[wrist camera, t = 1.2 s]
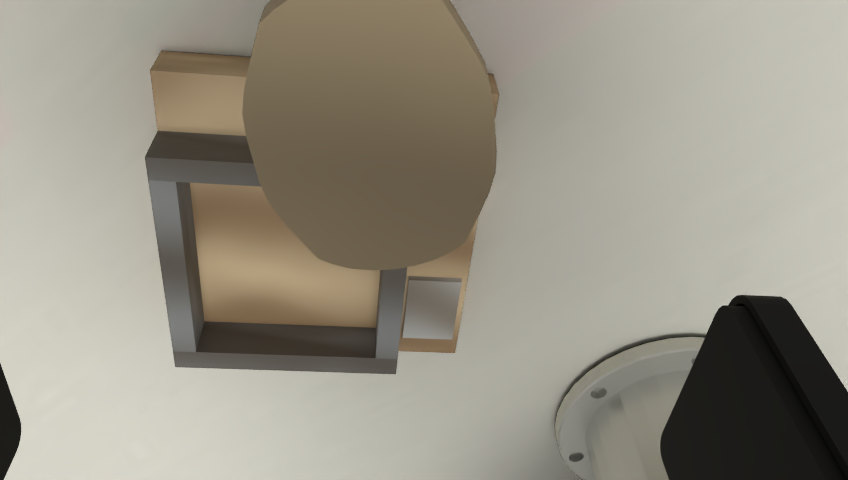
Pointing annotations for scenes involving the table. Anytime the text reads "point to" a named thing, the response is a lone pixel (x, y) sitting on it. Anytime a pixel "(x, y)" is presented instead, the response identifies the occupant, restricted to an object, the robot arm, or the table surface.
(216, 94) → the wooden tray
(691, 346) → the robot arm
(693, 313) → the table surface
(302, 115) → the handle
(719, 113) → the table surface
